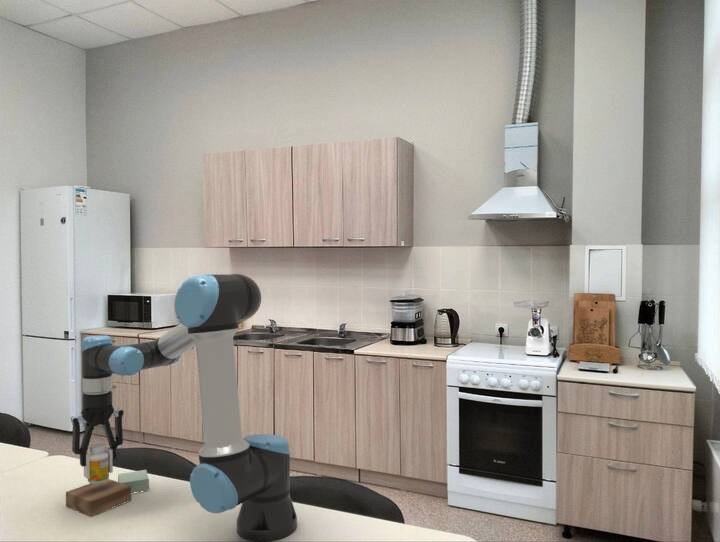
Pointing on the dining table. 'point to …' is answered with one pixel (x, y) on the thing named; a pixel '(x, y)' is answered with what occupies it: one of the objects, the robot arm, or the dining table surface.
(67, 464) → the dining table surface
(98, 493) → the walnut block
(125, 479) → the greygreen block
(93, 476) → the supplement bottle
